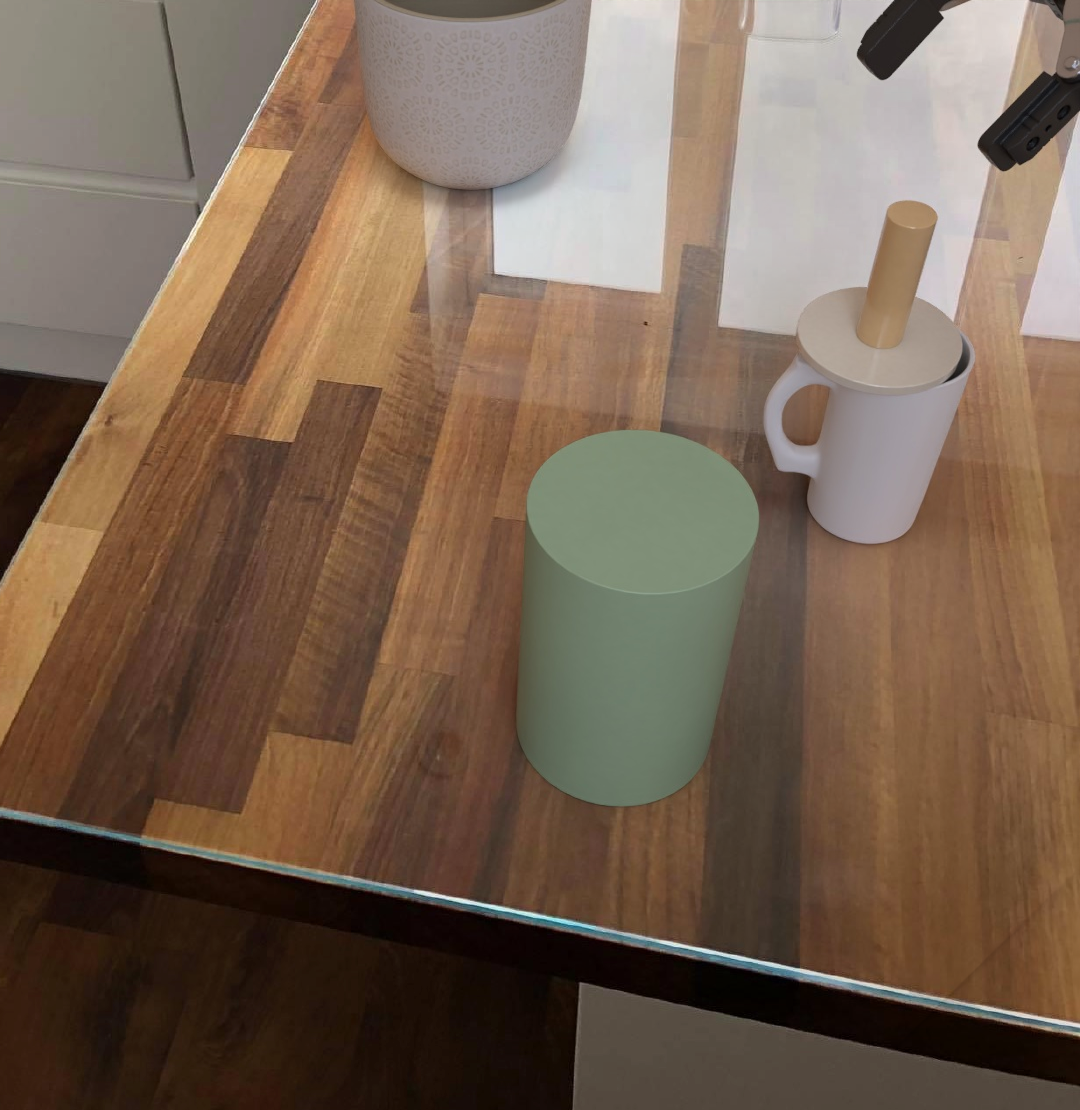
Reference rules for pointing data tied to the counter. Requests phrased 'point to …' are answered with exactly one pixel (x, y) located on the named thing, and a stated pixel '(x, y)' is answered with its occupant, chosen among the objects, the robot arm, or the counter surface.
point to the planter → (472, 84)
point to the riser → (629, 611)
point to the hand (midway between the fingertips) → (926, 112)
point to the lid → (884, 318)
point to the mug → (867, 450)
